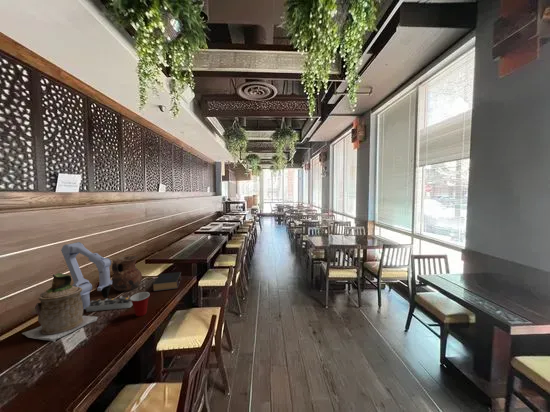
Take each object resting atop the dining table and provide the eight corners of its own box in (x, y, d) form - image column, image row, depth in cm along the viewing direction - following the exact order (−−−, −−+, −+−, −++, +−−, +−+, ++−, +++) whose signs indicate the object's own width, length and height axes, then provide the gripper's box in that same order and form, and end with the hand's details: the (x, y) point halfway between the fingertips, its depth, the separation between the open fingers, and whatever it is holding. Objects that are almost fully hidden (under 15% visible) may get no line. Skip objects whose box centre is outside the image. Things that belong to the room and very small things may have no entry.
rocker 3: (118, 301, 159) (119, 298, 159) (120, 299, 162) (121, 295, 162) (126, 302, 160) (127, 299, 160) (128, 300, 163) (129, 297, 163)
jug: (117, 285, 202) (115, 256, 202) (144, 282, 209) (143, 253, 208) (107, 295, 181) (105, 262, 180) (138, 291, 188) (137, 259, 187)
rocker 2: (104, 303, 158) (104, 300, 157) (107, 301, 161) (106, 298, 161) (112, 302, 158) (112, 299, 158) (115, 300, 162) (115, 297, 162)
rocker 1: (90, 305, 156) (89, 302, 156) (93, 303, 159) (92, 300, 159) (98, 303, 157) (97, 300, 157) (101, 301, 160) (100, 297, 160)
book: (181, 279, 215) (181, 271, 214) (177, 289, 190) (177, 281, 190) (160, 281, 210) (160, 273, 210) (153, 292, 186) (153, 283, 186)
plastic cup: (128, 320, 143) (127, 300, 143) (134, 311, 154) (133, 293, 153) (148, 317, 146) (147, 297, 145) (152, 309, 156) (151, 291, 156)
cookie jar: (99, 319, 145) (96, 267, 144) (52, 344, 121) (48, 281, 120) (70, 315, 152) (66, 265, 150) (19, 337, 128) (15, 278, 127)
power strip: (86, 312, 155) (85, 304, 155) (93, 306, 163) (92, 299, 163) (130, 307, 160) (129, 300, 159) (134, 302, 167) (134, 295, 167)
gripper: (105, 280, 152) (106, 301, 153) (116, 273, 166) (117, 292, 167) (93, 281, 151) (94, 302, 151) (105, 274, 165) (106, 293, 166)
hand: (105, 297), depth 159 cm, fingers closed
